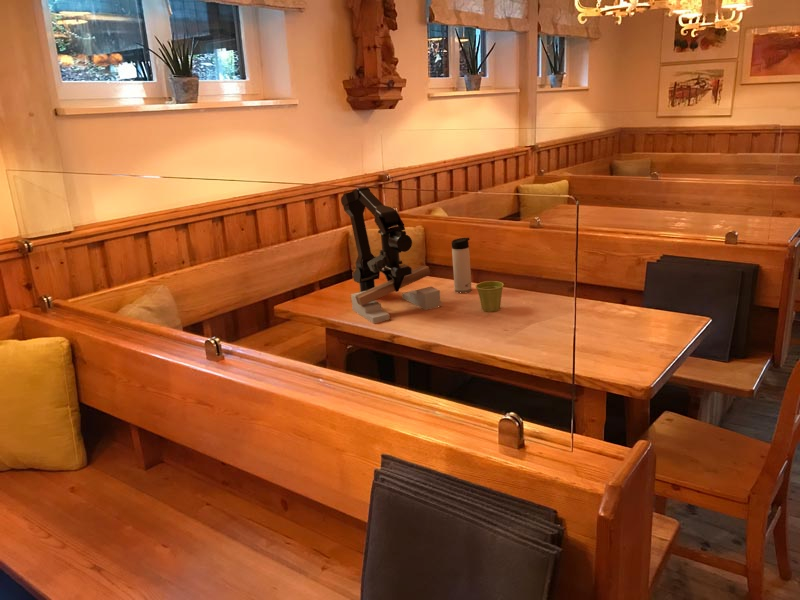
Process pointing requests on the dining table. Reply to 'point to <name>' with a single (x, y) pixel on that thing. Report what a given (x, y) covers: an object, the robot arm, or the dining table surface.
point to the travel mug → (461, 265)
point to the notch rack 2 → (424, 297)
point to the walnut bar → (391, 286)
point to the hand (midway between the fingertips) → (394, 290)
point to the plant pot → (490, 295)
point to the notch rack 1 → (369, 310)
